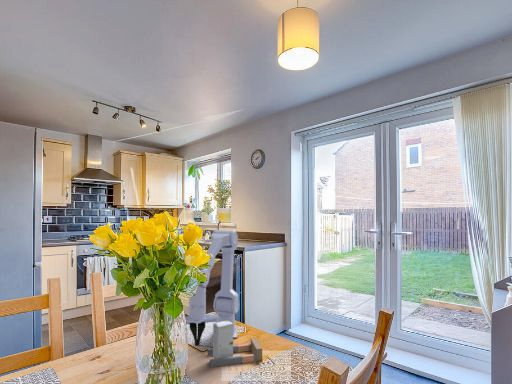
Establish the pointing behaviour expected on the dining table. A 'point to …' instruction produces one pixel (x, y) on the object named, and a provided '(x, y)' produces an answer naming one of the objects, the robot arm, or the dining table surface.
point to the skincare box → (222, 339)
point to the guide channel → (252, 347)
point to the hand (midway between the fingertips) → (197, 344)
